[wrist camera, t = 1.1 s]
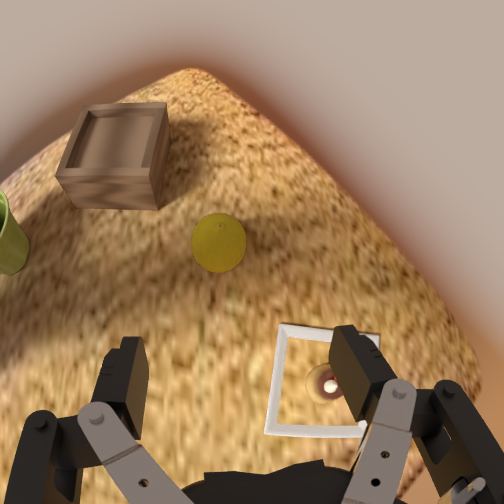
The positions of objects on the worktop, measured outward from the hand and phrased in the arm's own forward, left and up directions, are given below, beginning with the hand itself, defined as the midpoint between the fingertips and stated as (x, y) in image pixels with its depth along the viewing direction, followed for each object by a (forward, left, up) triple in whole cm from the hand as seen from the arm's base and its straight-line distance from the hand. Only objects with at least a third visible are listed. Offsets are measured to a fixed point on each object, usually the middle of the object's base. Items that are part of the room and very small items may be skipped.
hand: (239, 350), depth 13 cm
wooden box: (-14, +23, -21) cm, 34 cm away
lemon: (-1, +12, -21) cm, 24 cm away
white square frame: (+11, -2, -21) cm, 24 cm away
